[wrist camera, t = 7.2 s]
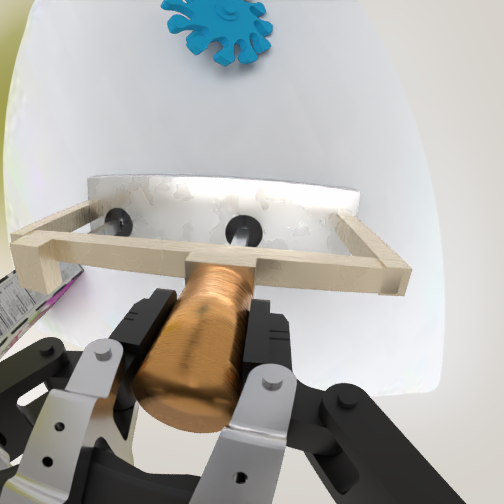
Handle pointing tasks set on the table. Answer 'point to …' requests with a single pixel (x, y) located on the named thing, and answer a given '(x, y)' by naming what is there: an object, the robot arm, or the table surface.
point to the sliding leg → (201, 344)
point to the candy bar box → (27, 305)
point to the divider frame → (213, 233)
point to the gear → (221, 27)
